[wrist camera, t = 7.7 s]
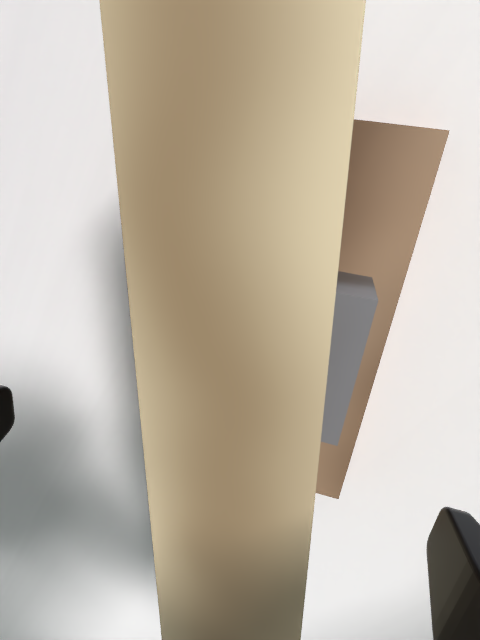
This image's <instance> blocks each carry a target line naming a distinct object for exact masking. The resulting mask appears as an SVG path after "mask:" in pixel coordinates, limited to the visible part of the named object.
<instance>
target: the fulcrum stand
mask: <svg viewBox="0 0 480 640" xmlns="http://www.w3.org/2000/svg"><path fill="white" fill-rule="evenodd" d="M448 134H449V130H440V129H432V128H423V127H414V126H406V125H397V124H389V123H380V122H372V121H363V120H353V130H352V140H351V150H350V160H349V169H348V179H347V189H346V199H345V208H344V218H343V228H342V238H341V248H340V257H339V267H338V277H337V287H336V296H335V306H334V316H333V326H332V336H331V345H330V355H329V365H328V375H327V384H326V394H325V404H324V414H323V424H322V433H321V443H320V453H319V463H318V472H317V482H316V492H315V493H319V494H322V495H326V496H329V497H333V498H336V499H339V495H340V492H341V489H342V485H343V482H344V479H345V475H346V472H347V469H348V465H349V462H350V459H351V456H352V452H353V449H354V446H355V442H356V439H357V436H358V432H359V429H360V426H361V422H362V419H363V416H364V412H365V409H366V406H367V403H368V399H369V396H370V393H371V389H372V386H373V383H374V379H375V376H376V373H377V369H378V366H379V363H380V359H381V356H382V353H383V350H384V346H385V343H386V340H387V336H388V333H389V330H390V326H391V323H392V320H393V316H394V313H395V310H396V306H397V303H398V300H399V297H400V293H401V290H402V287H403V283H404V280H405V277H406V273H407V270H408V267H409V263H410V260H411V257H412V253H413V250H414V247H415V243H416V240H417V237H418V234H419V230H420V227H421V224H422V220H423V217H424V214H425V210H426V207H427V204H428V200H429V197H430V194H431V190H432V187H433V184H434V181H435V177H436V174H437V171H438V167H439V164H440V161H441V157H442V154H443V151H444V147H445V144H446V141H447V137H448Z"/></svg>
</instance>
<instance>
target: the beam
mask: <svg viewBox="0 0 480 640" xmlns="http://www.w3.org/2000/svg"><path fill="white" fill-rule="evenodd" d="M365 3H366V0H100V10H101V21H102V31H103V41H104V51H105V61H106V72H107V82H108V92H109V102H110V113H111V123H112V133H113V143H114V154H115V164H116V174H117V184H118V195H119V205H120V215H121V225H122V236H123V246H124V256H125V266H126V277H127V287H128V297H129V307H130V318H131V328H132V338H133V348H134V358H135V369H136V379H137V389H138V399H139V410H140V420H141V430H142V440H143V451H144V461H145V471H146V481H147V492H148V502H149V512H150V522H151V533H152V543H153V553H154V563H155V574H156V584H157V594H158V604H159V615H160V625H161V635H162V640H300V639H301V629H302V619H303V609H304V600H305V590H306V580H307V570H308V560H309V551H310V541H311V531H312V521H313V512H314V502H315V492H316V482H317V472H318V463H319V453H320V443H321V433H322V424H323V414H324V404H325V394H326V384H327V375H328V365H329V355H330V345H331V336H332V326H333V316H334V306H335V296H336V287H337V277H338V267H339V257H340V248H341V238H342V228H343V218H344V208H345V199H346V189H347V179H348V169H349V160H350V150H351V140H352V130H353V120H354V111H355V101H356V91H357V81H358V72H359V62H360V52H361V42H362V32H363V23H364V13H365Z"/></svg>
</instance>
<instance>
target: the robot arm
mask: <svg viewBox="0 0 480 640" xmlns="http://www.w3.org/2000/svg"><path fill="white" fill-rule="evenodd" d="M14 420H15V415H14V406H13V397H12V392H11V390H10V388H8V387H6V386H2V385H0V442H1V441H2V439H3V438H4V437H5V436H6V435H7V433H8V432H9V431H10V429H11V428H12V426H13V424H14ZM427 562H428V576H429V589H430V603H431V616H432V630H433V640H480V524H479V523H478V522H477V521H476V520H475V519H474V518H473V517H472V516H471V515H470V514H469V513H467V512H465V511H461V510H457V509H454V508H450V507H444V508H443V509H441V511H440V513H439V515H438V517H437V519H436V522H435V524H434V526H433V528H432V531H431V533H430V535H429V538H428V541H427Z"/></svg>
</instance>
